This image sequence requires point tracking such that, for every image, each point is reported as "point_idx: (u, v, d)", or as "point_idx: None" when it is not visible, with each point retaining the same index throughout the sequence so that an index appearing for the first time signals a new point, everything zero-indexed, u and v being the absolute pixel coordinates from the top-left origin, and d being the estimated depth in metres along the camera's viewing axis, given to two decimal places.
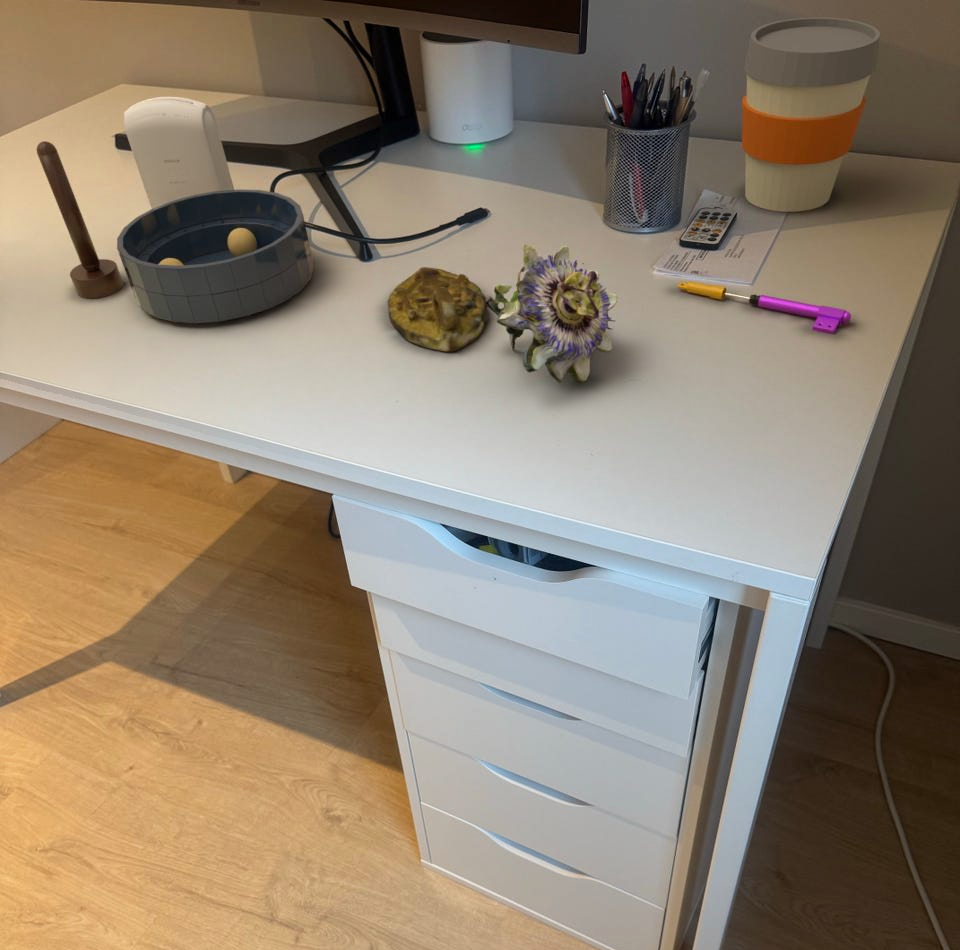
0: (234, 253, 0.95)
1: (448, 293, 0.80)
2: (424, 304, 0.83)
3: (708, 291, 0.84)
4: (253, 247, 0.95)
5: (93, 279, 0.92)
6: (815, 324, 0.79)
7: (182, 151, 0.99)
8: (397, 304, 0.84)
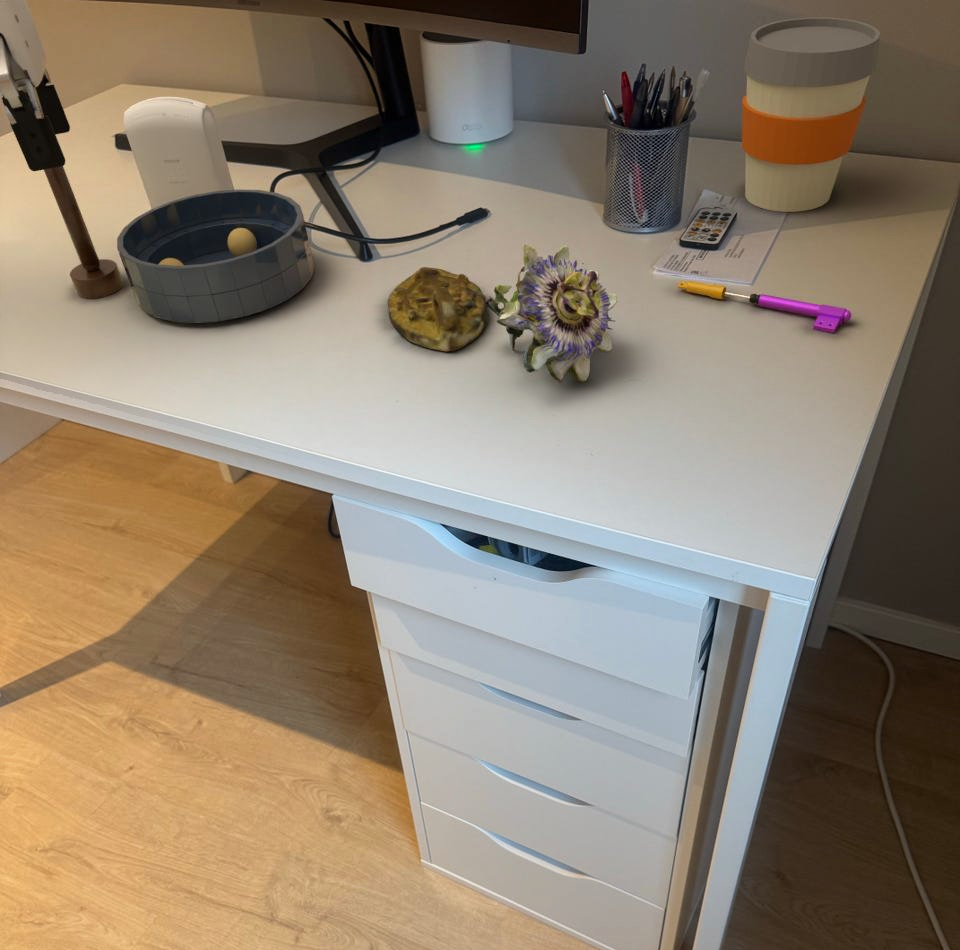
0: (234, 253, 0.95)
1: (448, 293, 0.80)
2: (424, 304, 0.83)
3: (708, 290, 0.84)
4: (253, 247, 0.95)
5: (93, 279, 0.92)
6: (816, 323, 0.79)
7: (182, 151, 0.99)
8: (397, 304, 0.84)
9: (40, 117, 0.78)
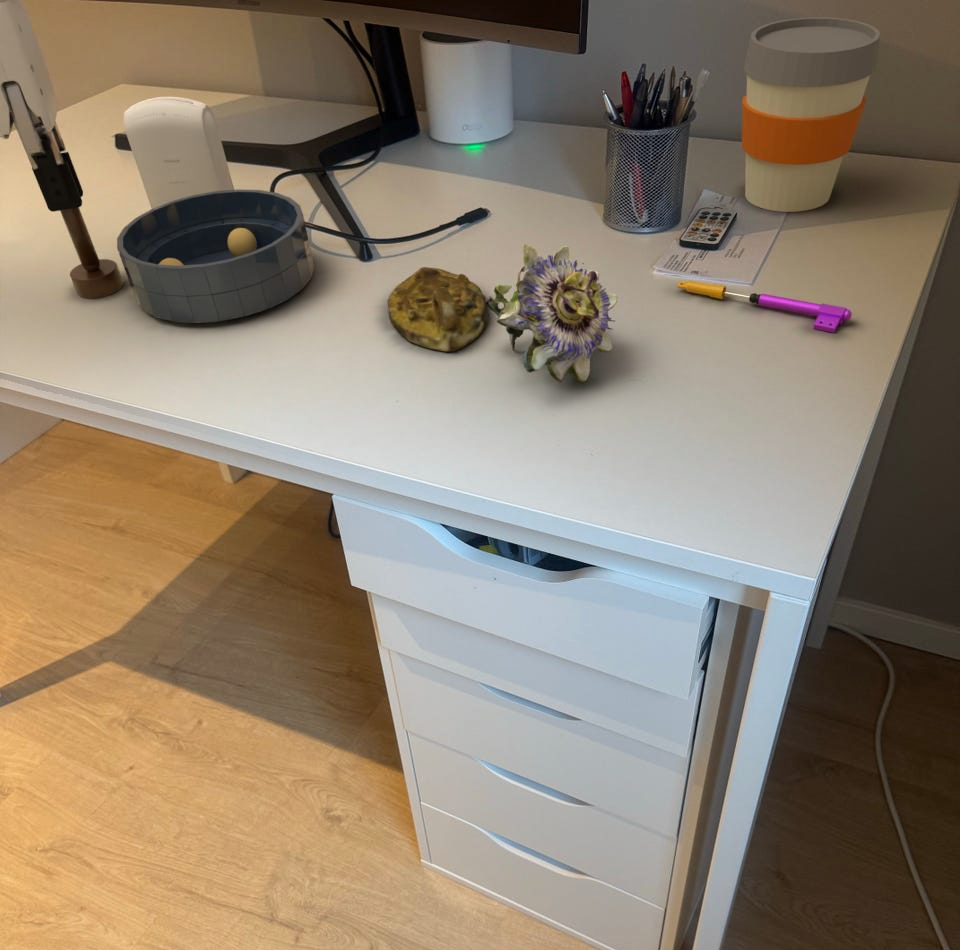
0: (234, 253, 0.95)
1: (448, 293, 0.80)
2: (424, 304, 0.83)
3: (708, 290, 0.83)
4: (253, 247, 0.95)
5: (93, 279, 0.92)
6: (816, 322, 0.79)
7: (182, 151, 0.99)
8: (397, 304, 0.84)
9: (62, 165, 0.84)
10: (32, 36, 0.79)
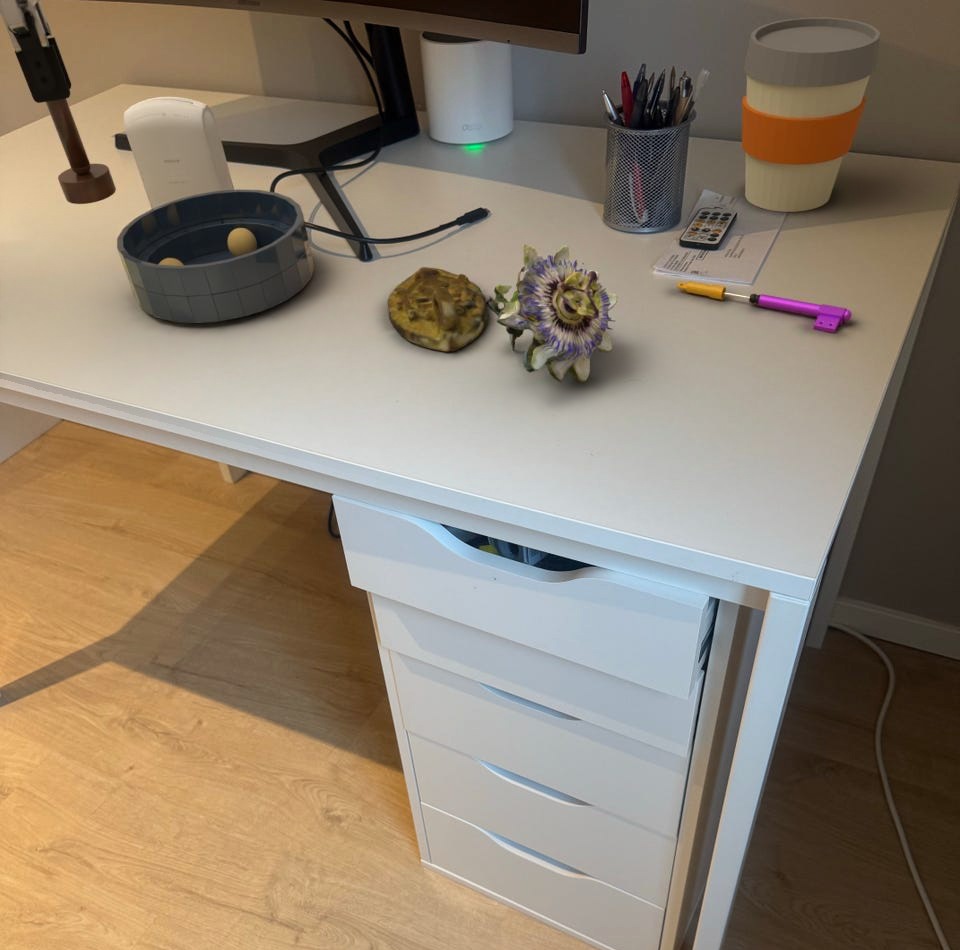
0: (234, 253, 0.95)
1: (448, 293, 0.80)
2: (424, 304, 0.83)
3: (708, 291, 0.84)
4: (253, 247, 0.95)
5: (83, 181, 0.85)
6: (816, 323, 0.79)
7: (182, 151, 0.99)
8: (397, 304, 0.84)
9: (47, 47, 0.77)
10: None
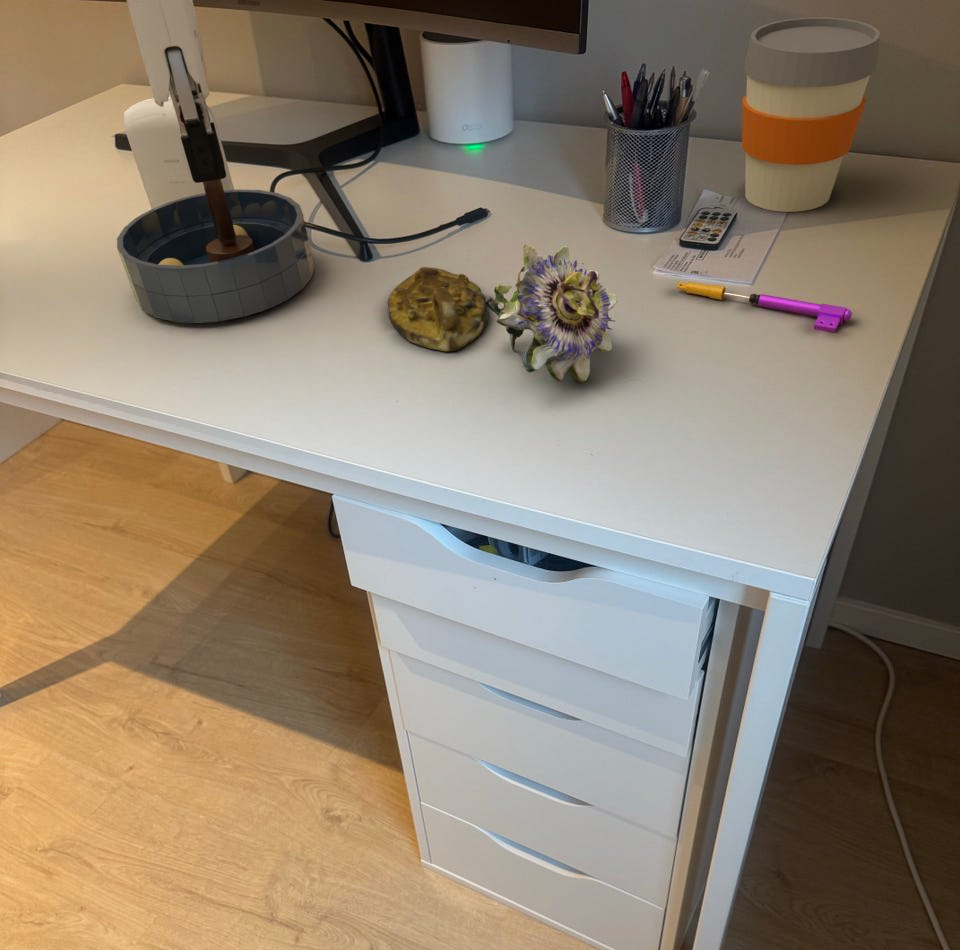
0: None
1: (448, 293, 0.80)
2: (424, 304, 0.83)
3: (707, 291, 0.83)
4: None
5: (230, 252, 0.90)
6: (816, 322, 0.79)
7: (182, 151, 0.99)
8: (397, 304, 0.84)
9: (211, 134, 0.83)
10: (192, 1, 0.78)
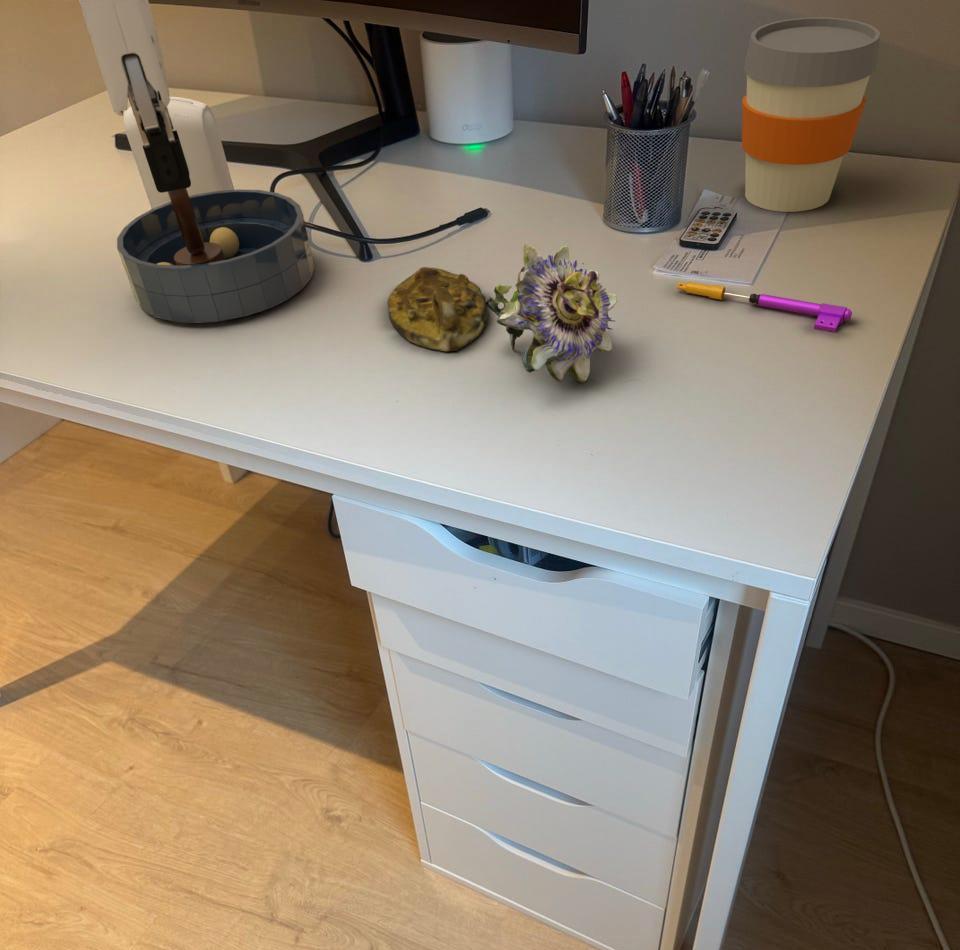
0: None
1: (448, 293, 0.80)
2: (424, 304, 0.83)
3: (707, 291, 0.83)
4: (222, 246, 0.94)
5: (198, 262, 0.89)
6: (817, 322, 0.79)
7: None
8: (397, 304, 0.84)
9: (174, 143, 0.81)
10: (149, 7, 0.75)
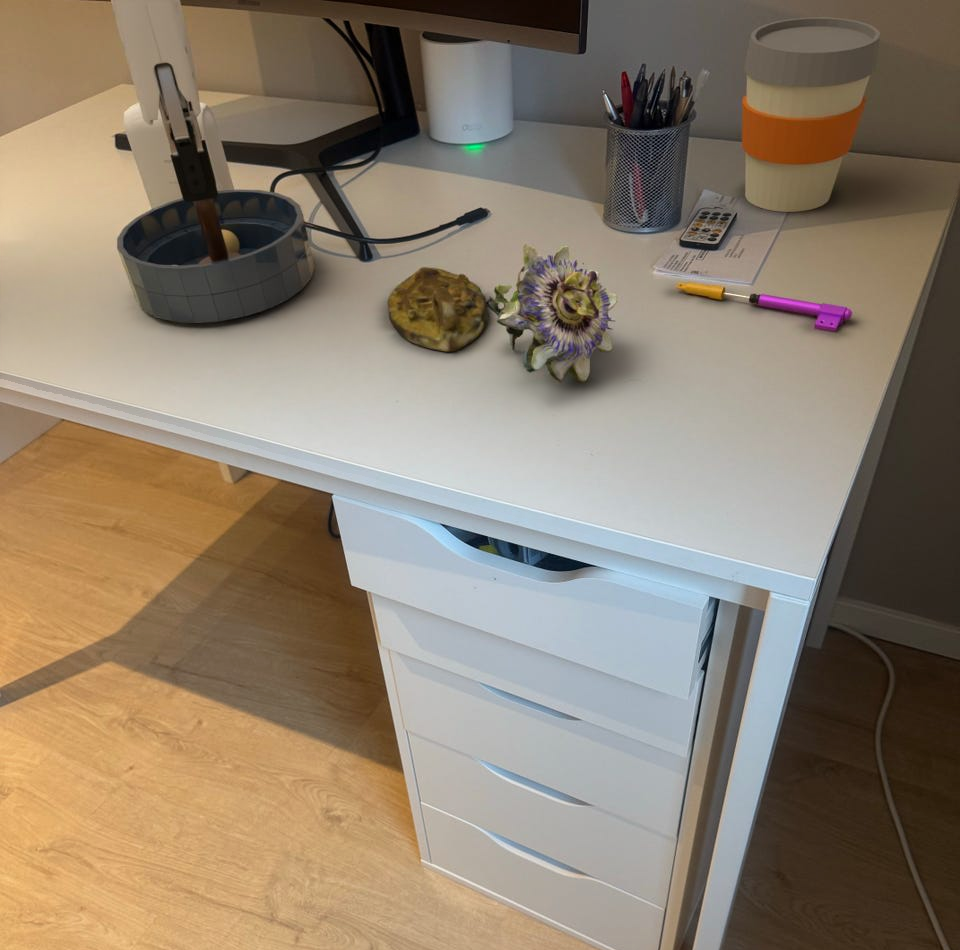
0: None
1: (448, 293, 0.80)
2: (424, 304, 0.83)
3: (707, 291, 0.83)
4: None
5: None
6: (817, 322, 0.79)
7: None
8: (397, 304, 0.84)
9: (202, 153, 0.80)
10: (183, 16, 0.74)
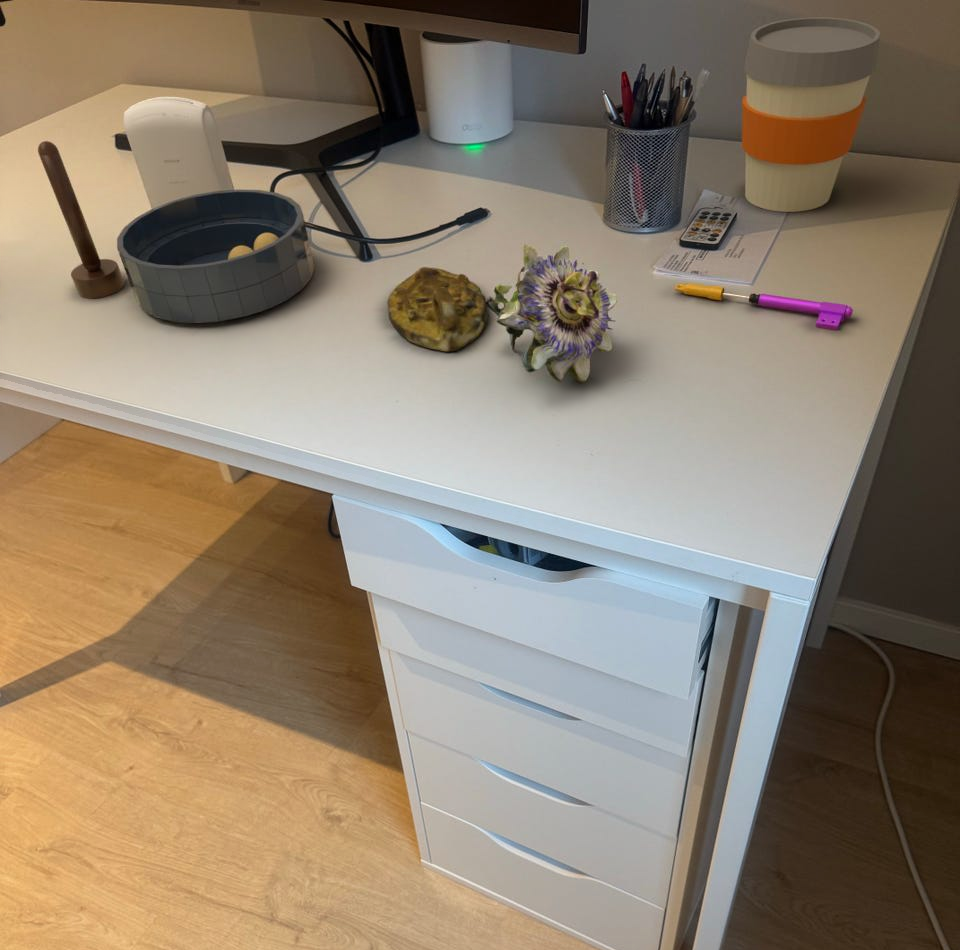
0: None
1: (448, 293, 0.80)
2: (424, 304, 0.83)
3: (706, 292, 0.83)
4: (264, 233, 0.93)
5: (92, 279, 0.92)
6: (818, 320, 0.79)
7: (182, 151, 0.99)
8: (397, 304, 0.84)
9: None
10: None
